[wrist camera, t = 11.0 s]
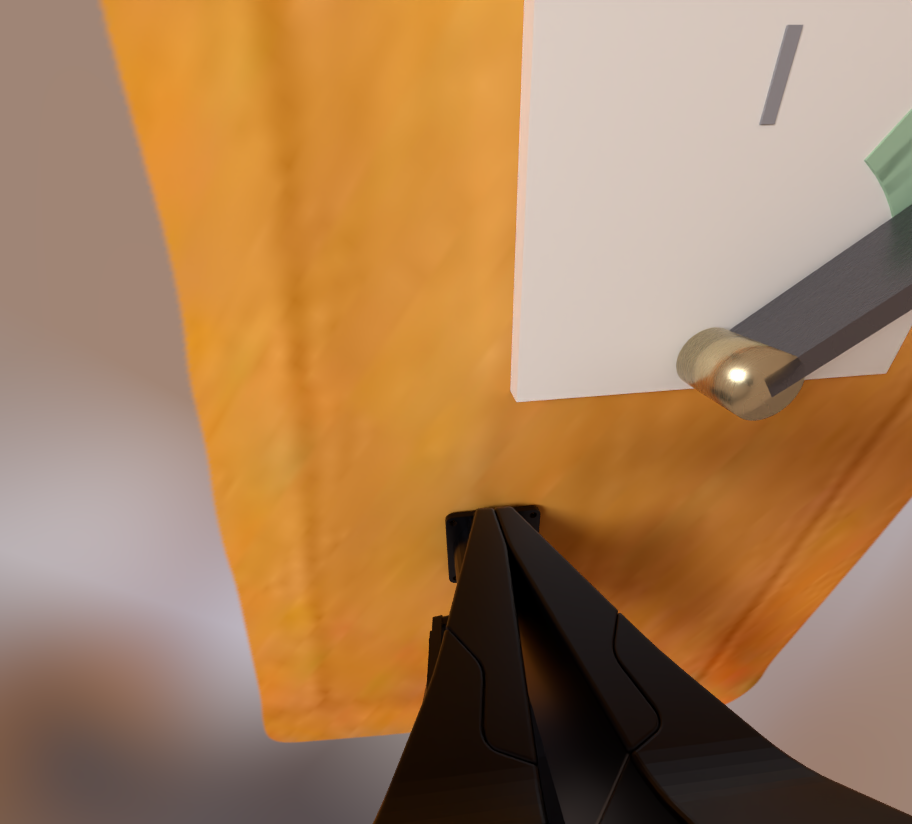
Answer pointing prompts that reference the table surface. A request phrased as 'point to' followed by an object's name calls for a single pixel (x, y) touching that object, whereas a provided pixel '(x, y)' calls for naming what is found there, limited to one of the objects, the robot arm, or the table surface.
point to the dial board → (696, 176)
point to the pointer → (804, 325)
